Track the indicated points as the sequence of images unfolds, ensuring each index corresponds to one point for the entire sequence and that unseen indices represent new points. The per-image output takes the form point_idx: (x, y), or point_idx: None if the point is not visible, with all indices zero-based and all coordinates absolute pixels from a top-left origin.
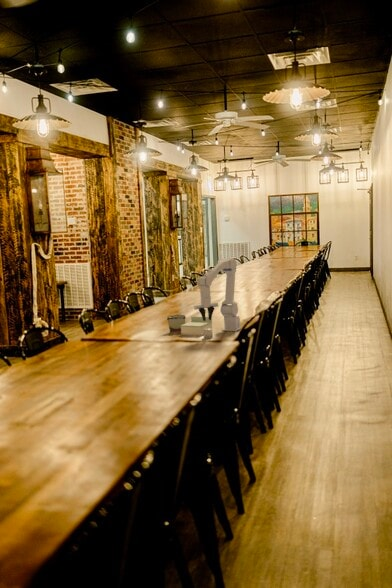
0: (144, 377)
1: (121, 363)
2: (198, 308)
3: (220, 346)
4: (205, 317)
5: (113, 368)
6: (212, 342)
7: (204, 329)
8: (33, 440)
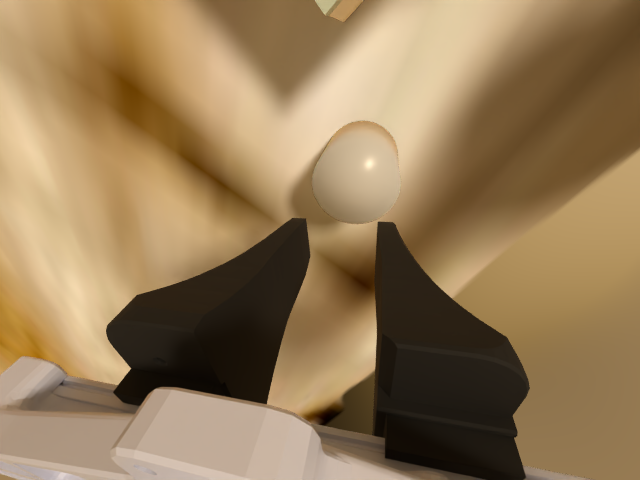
0: None
1: (10, 309)
2: (106, 407)
3: (327, 350)
4: (298, 292)
5: (13, 331)
6: (326, 283)
7: (324, 171)
8: None
